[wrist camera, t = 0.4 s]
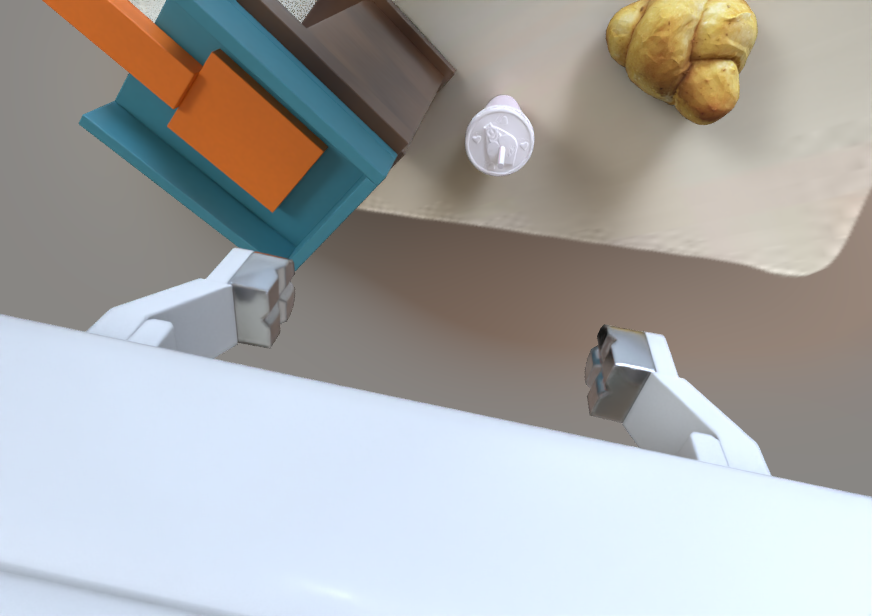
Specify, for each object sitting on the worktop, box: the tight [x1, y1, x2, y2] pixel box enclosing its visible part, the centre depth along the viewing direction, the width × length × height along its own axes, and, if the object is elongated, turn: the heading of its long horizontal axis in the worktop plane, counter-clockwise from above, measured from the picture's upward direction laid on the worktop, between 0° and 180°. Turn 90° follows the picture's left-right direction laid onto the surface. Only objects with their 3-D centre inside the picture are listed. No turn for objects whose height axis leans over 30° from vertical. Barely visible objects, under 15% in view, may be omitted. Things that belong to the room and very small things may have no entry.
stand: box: [236, 0, 456, 168], centre depth 44 cm, size 16×13×26 cm
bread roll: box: [606, 0, 758, 125], centre depth 47 cm, size 13×10×8 cm
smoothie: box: [465, 95, 534, 176], centre depth 50 cm, size 6×6×14 cm
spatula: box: [43, 0, 328, 213], centre depth 31 cm, size 20×6×2 cm, turn 46°
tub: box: [79, 0, 398, 271], centre depth 32 cm, size 15×11×4 cm
